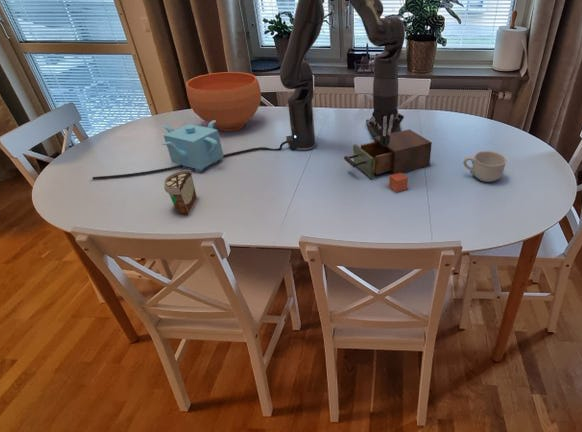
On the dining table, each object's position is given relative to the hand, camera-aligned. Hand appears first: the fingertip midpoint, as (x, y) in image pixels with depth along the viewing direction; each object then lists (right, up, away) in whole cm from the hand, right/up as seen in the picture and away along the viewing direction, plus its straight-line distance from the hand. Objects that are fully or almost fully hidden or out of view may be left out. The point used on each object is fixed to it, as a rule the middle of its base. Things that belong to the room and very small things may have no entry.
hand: (384, 145), depth 127 cm
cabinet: (+7, -3, +21) cm, 23 cm away
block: (+5, -13, +5) cm, 15 cm away
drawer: (-4, -5, +16) cm, 17 cm away
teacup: (+35, -9, +12) cm, 38 cm away
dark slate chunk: (+2, +14, +47) cm, 49 cm away
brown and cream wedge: (-63, -20, -4) cm, 67 cm away
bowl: (-68, +18, +52) cm, 87 cm away
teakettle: (-70, -3, +21) cm, 73 cm away
